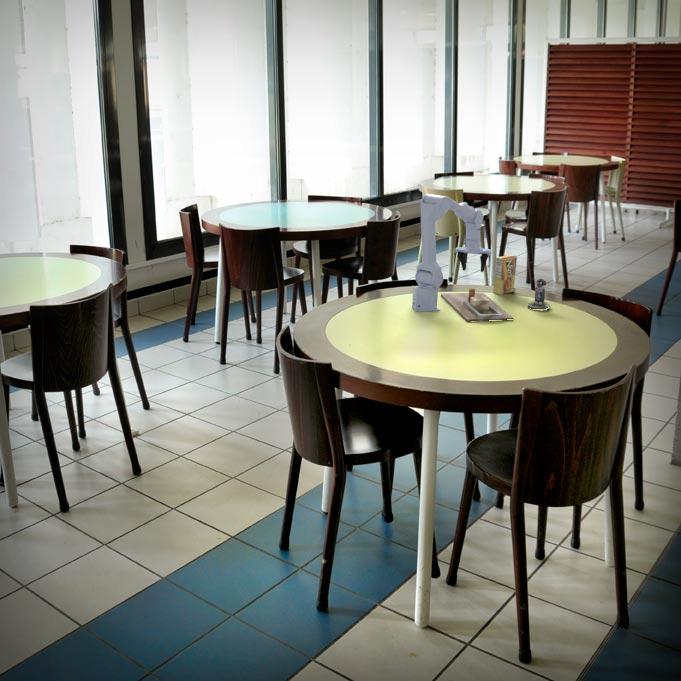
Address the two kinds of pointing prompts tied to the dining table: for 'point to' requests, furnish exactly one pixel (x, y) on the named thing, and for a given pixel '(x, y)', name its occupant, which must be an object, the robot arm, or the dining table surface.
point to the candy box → (504, 274)
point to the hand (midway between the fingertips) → (473, 270)
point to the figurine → (539, 296)
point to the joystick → (478, 301)
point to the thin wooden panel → (469, 313)
